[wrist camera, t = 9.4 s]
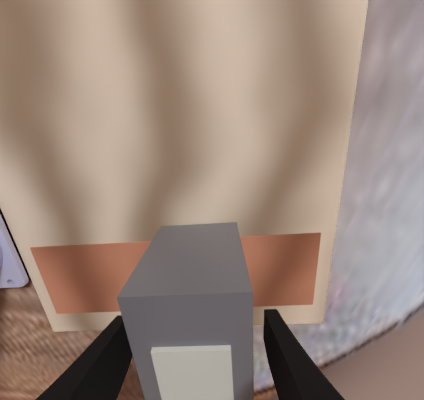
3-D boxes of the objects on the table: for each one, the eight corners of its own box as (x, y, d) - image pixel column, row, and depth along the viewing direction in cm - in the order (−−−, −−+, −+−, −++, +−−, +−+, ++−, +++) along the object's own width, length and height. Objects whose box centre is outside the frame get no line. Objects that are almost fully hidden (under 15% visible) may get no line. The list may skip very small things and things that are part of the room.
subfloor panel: (54, 330, 16) (52, 332, 16) (-112, -58, 9) (-119, -62, 9) (322, 321, 15) (323, 324, 15) (383, -119, 8) (387, -125, 8)
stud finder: (176, 318, 15) (150, 431, 9) (160, 226, 13) (113, 301, 7) (239, 316, 15) (254, 430, 9) (236, 222, 13) (253, 296, 7)
